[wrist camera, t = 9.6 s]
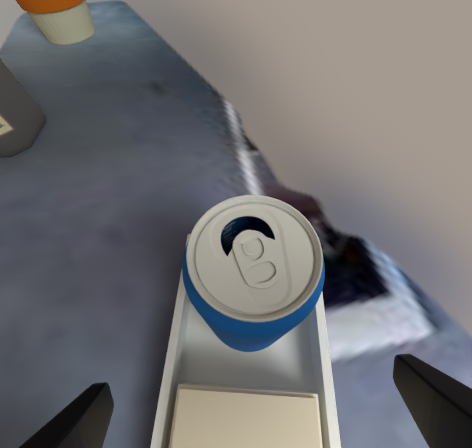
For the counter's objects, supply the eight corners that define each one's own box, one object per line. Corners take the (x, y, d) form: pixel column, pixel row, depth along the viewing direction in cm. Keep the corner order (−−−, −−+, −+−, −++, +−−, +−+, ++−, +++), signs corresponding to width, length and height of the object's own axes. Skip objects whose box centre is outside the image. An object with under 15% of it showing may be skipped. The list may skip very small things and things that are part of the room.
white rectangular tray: (332, 511, 15) (352, 541, 12) (154, 495, 15) (137, 521, 13) (307, 253, 23) (315, 239, 21) (193, 248, 24) (187, 233, 21)
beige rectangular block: (312, 487, 15) (330, 518, 12) (175, 475, 15) (159, 502, 12) (305, 389, 18) (319, 394, 14) (188, 381, 18) (176, 384, 15)
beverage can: (267, 262, 23) (289, 172, 12) (300, 334, 19) (367, 296, 9) (199, 286, 22) (161, 211, 11) (222, 366, 18) (199, 365, 8)
